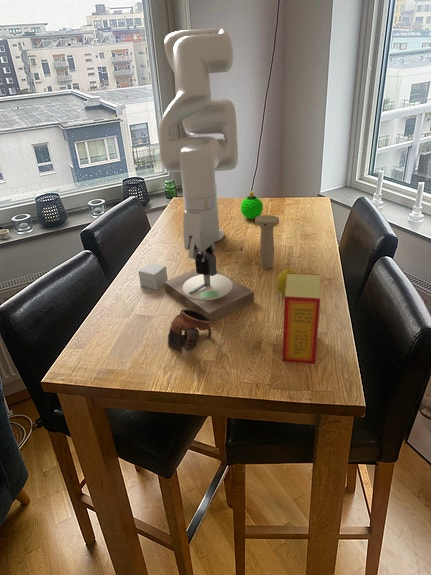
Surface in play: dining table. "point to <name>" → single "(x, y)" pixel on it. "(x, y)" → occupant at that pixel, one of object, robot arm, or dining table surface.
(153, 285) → the small box
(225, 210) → the dining table surface
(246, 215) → the ornament
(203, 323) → the broken clay pot
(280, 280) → the lemon
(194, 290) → the grey block with rod
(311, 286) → the baking soda box
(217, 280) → the dial
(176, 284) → the board
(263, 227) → the handle
